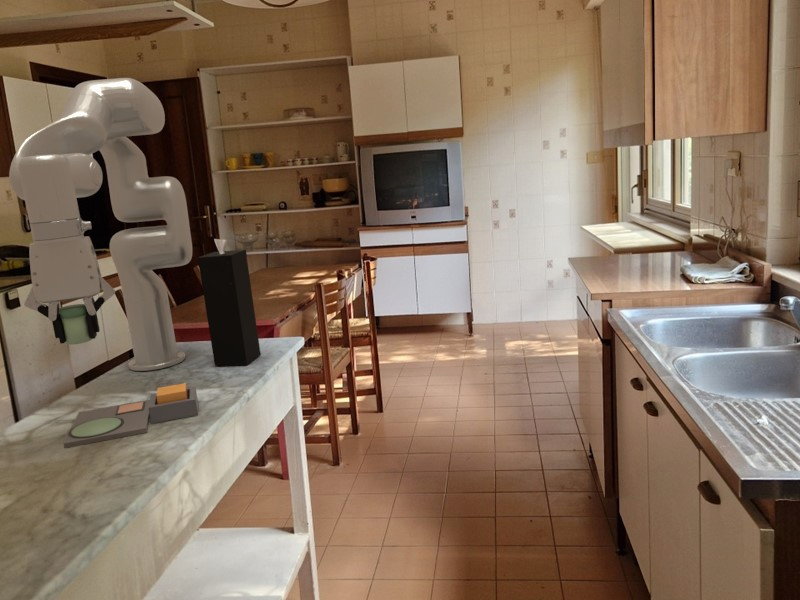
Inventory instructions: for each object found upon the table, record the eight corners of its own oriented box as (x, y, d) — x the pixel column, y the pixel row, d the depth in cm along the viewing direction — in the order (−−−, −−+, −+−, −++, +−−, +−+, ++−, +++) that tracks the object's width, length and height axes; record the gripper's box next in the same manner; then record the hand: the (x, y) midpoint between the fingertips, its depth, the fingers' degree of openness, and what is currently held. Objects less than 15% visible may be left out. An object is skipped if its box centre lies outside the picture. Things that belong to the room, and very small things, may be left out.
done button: (160, 400, 127) (157, 387, 126) (187, 395, 128) (185, 383, 128) (158, 408, 122) (156, 396, 122) (187, 403, 123) (185, 391, 123)
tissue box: (247, 365, 151) (228, 239, 145) (214, 367, 152) (194, 242, 147) (261, 355, 158) (244, 235, 153) (229, 356, 160) (211, 237, 154)
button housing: (153, 409, 128) (151, 394, 128) (197, 401, 130) (195, 386, 130) (151, 423, 121) (148, 407, 120) (198, 415, 123) (195, 399, 122)
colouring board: (79, 416, 129) (78, 411, 128) (152, 403, 132) (151, 398, 132) (64, 448, 114) (63, 442, 113) (146, 432, 117) (145, 427, 117)
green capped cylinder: (68, 340, 117) (61, 306, 116) (94, 336, 118) (87, 302, 117) (63, 346, 113) (56, 310, 112) (90, 342, 115) (84, 307, 113)
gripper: (114, 224, 118) (133, 327, 122) (7, 236, 114) (29, 342, 117) (109, 227, 111) (129, 336, 115) (-6, 240, 106) (19, 353, 110)
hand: (78, 338), depth 116 cm, fingers closed on green capped cylinder, 4 cm apart
